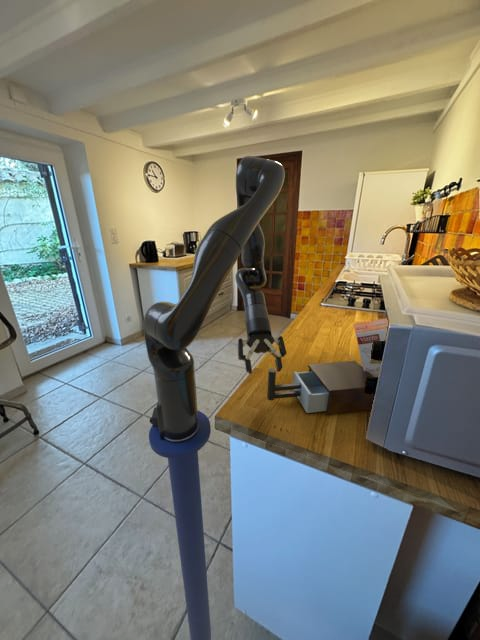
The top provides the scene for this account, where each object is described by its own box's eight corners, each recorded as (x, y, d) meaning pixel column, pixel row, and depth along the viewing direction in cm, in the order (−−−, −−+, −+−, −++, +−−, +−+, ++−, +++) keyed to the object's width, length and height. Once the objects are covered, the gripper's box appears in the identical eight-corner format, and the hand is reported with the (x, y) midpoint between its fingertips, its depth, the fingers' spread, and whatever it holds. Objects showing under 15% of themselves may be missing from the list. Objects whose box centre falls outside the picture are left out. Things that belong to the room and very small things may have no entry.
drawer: (272, 416, 66) (274, 382, 63) (262, 391, 77) (263, 360, 73) (354, 408, 70) (360, 374, 66) (334, 384, 80) (338, 355, 76)
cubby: (326, 414, 67) (329, 390, 65) (305, 385, 80) (308, 364, 77) (379, 409, 69) (384, 385, 67) (351, 381, 82) (355, 360, 80)
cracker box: (368, 391, 76) (355, 333, 69) (365, 378, 81) (352, 322, 74) (423, 387, 71) (415, 323, 63) (416, 373, 76) (408, 312, 68)
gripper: (236, 317, 76) (242, 371, 69) (282, 315, 78) (292, 366, 71) (234, 327, 82) (239, 377, 76) (276, 325, 84) (285, 373, 78)
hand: (264, 372), depth 73 cm, fingers open, 8 cm apart
